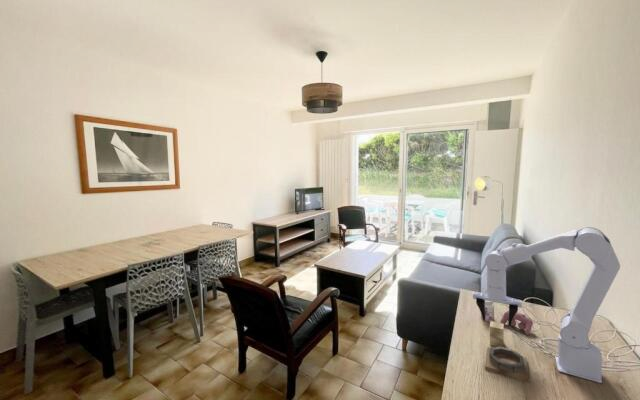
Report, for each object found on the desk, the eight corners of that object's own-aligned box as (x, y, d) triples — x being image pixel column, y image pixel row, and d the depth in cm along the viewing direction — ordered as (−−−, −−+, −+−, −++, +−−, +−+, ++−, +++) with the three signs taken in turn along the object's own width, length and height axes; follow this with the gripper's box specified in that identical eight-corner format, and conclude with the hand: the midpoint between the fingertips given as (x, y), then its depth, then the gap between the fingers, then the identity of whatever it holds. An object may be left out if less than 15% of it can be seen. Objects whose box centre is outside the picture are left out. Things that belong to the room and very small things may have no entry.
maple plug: (503, 342, 98) (503, 323, 97) (503, 348, 94) (503, 329, 94) (490, 338, 100) (490, 320, 99) (489, 344, 97) (489, 326, 96)
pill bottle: (481, 320, 112) (480, 300, 112) (480, 314, 117) (480, 296, 116) (494, 322, 110) (494, 302, 109) (493, 316, 114) (493, 297, 114)
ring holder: (527, 360, 88) (527, 351, 88) (528, 382, 79) (528, 373, 79) (487, 349, 94) (487, 341, 94) (485, 369, 85) (484, 360, 85)
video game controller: (532, 336, 102) (535, 318, 103) (528, 335, 100) (531, 316, 101) (503, 325, 110) (506, 308, 111) (498, 324, 108) (501, 307, 109)
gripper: (521, 284, 94) (521, 321, 96) (474, 277, 103) (474, 311, 104) (522, 292, 89) (522, 331, 90) (471, 284, 97) (472, 320, 98)
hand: (496, 321), depth 97 cm, fingers open, 7 cm apart
